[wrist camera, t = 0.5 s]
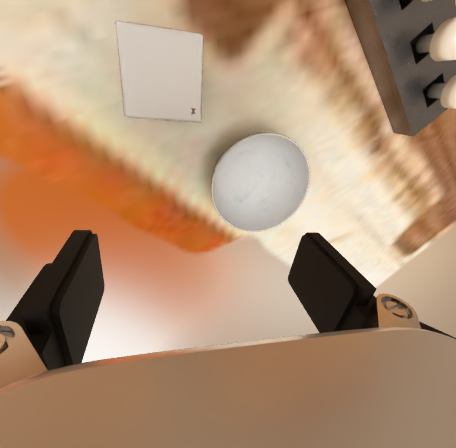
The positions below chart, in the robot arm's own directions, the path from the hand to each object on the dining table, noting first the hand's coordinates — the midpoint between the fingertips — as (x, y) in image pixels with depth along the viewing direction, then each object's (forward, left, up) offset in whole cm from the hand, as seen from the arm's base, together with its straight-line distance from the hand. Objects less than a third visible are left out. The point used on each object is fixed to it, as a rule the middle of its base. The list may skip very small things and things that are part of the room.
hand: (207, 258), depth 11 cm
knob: (-16, +37, -26) cm, 47 cm away
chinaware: (+3, +12, -30) cm, 32 cm away
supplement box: (-7, -3, -30) cm, 31 cm away
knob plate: (-20, +30, -29) cm, 47 cm away
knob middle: (-20, +30, -26) cm, 45 cm away
